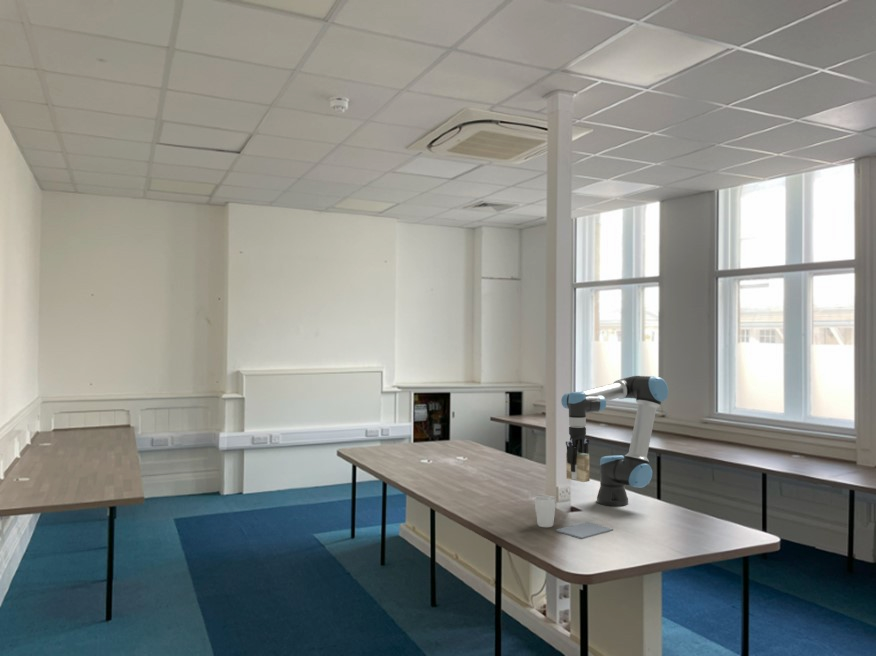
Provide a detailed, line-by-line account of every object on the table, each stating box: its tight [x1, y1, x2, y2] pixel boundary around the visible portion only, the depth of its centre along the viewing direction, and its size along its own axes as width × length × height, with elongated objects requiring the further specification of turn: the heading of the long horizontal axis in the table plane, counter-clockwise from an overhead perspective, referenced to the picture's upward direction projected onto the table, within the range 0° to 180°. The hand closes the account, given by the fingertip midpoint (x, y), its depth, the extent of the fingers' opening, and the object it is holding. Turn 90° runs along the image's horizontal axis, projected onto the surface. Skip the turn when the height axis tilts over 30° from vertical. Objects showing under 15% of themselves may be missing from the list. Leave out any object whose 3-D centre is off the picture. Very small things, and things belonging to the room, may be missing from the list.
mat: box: [555, 521, 614, 540], centre depth 279 cm, size 20×14×1 cm
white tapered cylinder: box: [534, 494, 557, 528], centre depth 288 cm, size 9×9×12 cm
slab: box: [565, 451, 591, 483], centre depth 298 cm, size 4×10×12 cm, turn 37°
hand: (578, 478), depth 298 cm, fingers closed on slab, 4 cm apart
